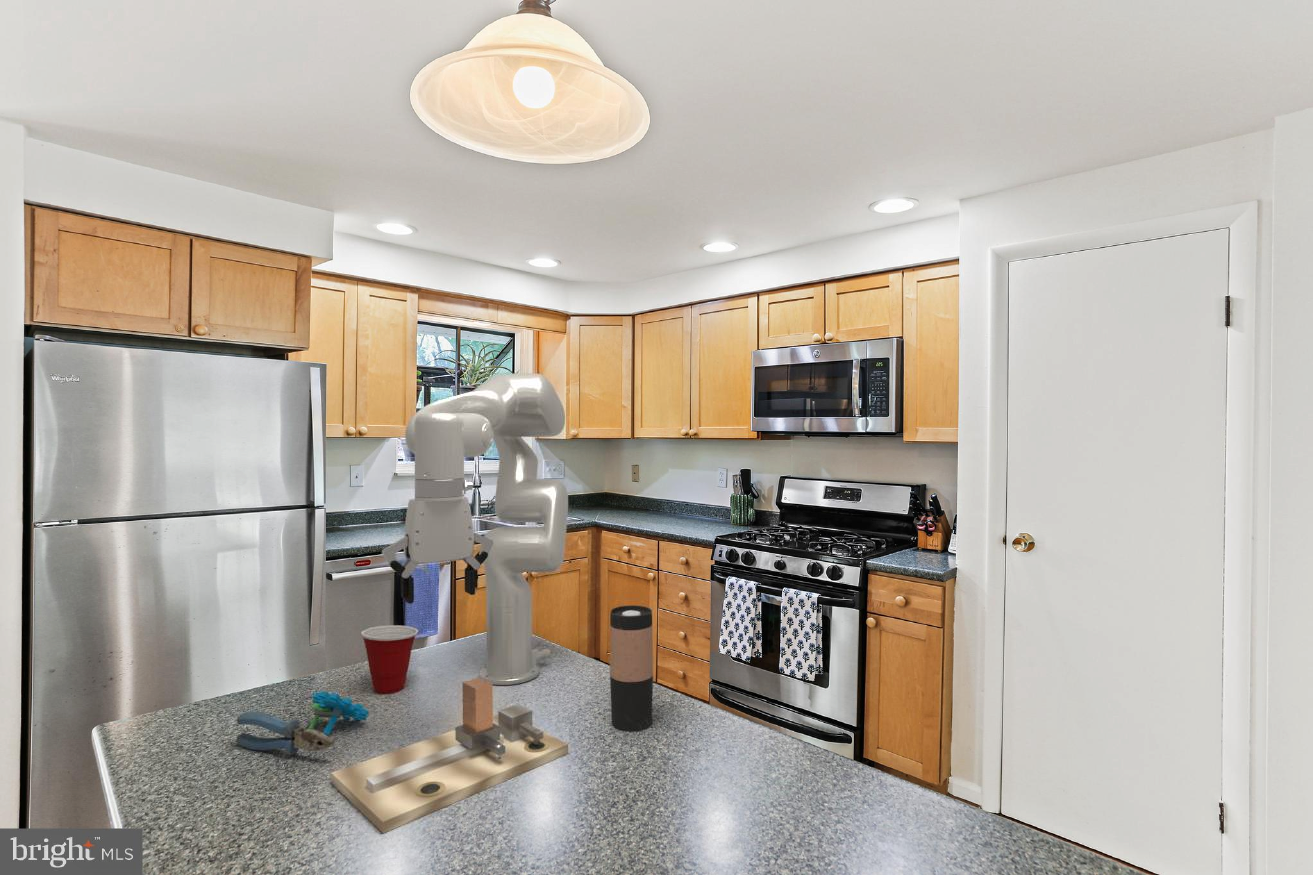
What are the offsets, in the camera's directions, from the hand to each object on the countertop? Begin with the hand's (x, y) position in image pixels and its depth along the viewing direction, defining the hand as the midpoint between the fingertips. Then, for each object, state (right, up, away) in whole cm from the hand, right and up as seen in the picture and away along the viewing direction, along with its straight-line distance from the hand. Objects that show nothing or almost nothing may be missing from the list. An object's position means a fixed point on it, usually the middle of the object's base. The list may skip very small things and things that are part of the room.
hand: (440, 597), depth 106 cm
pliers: (-26, -26, +1) cm, 37 cm away
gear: (-22, -26, +11) cm, 35 cm away
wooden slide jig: (+3, -26, -3) cm, 26 cm away
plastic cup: (-20, -26, +29) cm, 43 cm away
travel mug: (+30, -26, +12) cm, 41 cm away
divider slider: (+8, -23, -2) cm, 25 cm away
